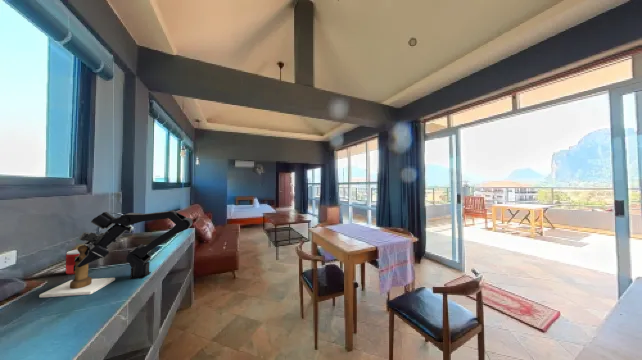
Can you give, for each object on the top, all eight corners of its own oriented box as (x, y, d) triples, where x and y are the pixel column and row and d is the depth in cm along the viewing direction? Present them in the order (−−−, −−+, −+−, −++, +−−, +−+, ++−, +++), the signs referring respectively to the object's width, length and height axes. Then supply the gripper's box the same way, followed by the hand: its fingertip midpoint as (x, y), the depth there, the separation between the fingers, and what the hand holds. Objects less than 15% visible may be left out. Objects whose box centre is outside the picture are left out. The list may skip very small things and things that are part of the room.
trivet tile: (114, 280, 102) (114, 277, 102) (90, 294, 89) (90, 291, 89) (71, 282, 98) (71, 280, 98) (39, 297, 86) (39, 294, 86)
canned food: (75, 275, 106) (76, 253, 106) (60, 274, 106) (61, 253, 107) (92, 268, 114) (92, 248, 114) (78, 268, 114) (78, 248, 114)
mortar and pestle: (95, 283, 96) (96, 244, 96) (74, 290, 90) (76, 248, 90) (86, 280, 98) (88, 242, 98) (66, 287, 92) (68, 246, 92)
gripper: (91, 222, 103) (54, 250, 93) (99, 227, 92) (58, 260, 83) (113, 235, 109) (80, 262, 100) (122, 241, 98) (87, 272, 89)
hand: (76, 264), depth 93 cm, fingers open, 9 cm apart
